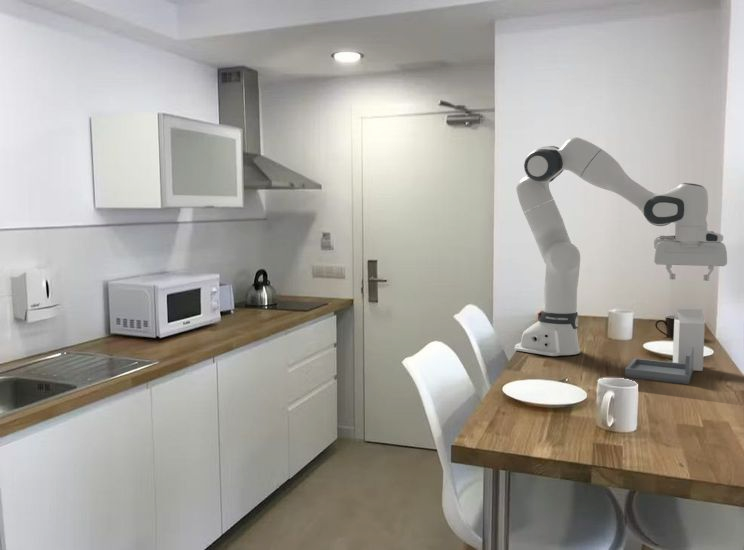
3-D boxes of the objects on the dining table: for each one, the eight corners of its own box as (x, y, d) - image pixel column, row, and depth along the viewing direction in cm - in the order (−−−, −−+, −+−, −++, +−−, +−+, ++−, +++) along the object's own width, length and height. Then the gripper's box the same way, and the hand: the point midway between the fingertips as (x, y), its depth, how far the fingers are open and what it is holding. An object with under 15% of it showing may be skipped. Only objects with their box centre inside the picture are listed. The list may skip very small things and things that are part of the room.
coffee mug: (690, 342, 233) (691, 316, 232) (688, 346, 225) (689, 319, 224) (657, 339, 239) (658, 314, 238) (654, 343, 232) (655, 317, 231)
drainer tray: (624, 376, 182) (625, 350, 182) (633, 365, 196) (634, 341, 195) (688, 384, 173) (689, 356, 173) (693, 372, 187) (694, 346, 186)
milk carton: (702, 371, 188) (705, 310, 186) (677, 370, 190) (680, 310, 188) (696, 366, 195) (698, 307, 193) (672, 365, 197) (674, 306, 195)
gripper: (652, 235, 192) (651, 279, 193) (727, 236, 181) (725, 282, 182) (655, 235, 197) (654, 277, 198) (728, 235, 186) (726, 280, 187)
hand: (689, 279), depth 190 cm, fingers open, 8 cm apart
